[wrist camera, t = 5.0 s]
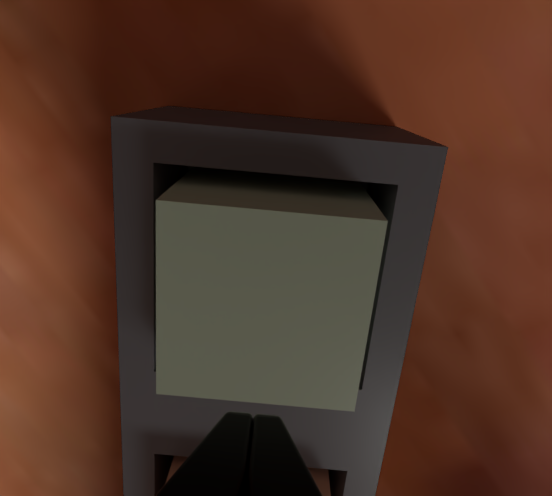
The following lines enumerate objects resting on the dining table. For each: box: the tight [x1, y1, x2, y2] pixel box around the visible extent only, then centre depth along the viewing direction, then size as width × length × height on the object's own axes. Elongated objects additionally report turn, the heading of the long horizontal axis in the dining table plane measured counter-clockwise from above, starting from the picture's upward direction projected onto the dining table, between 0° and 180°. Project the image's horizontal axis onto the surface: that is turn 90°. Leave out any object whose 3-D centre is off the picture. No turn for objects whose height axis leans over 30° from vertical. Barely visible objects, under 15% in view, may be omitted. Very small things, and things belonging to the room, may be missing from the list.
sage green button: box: [156, 167, 388, 412], centre depth 13 cm, size 5×5×4 cm
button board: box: [111, 106, 448, 496], centre depth 18 cm, size 8×26×6 cm, turn 175°
